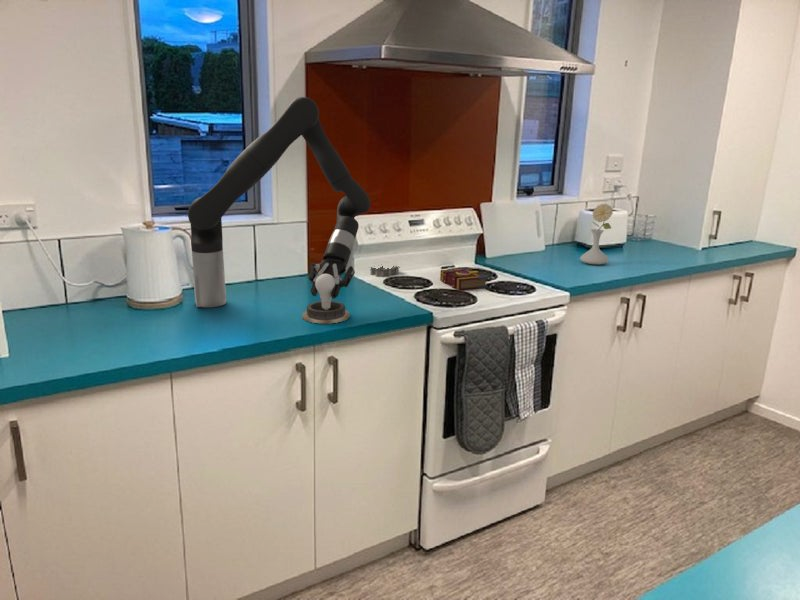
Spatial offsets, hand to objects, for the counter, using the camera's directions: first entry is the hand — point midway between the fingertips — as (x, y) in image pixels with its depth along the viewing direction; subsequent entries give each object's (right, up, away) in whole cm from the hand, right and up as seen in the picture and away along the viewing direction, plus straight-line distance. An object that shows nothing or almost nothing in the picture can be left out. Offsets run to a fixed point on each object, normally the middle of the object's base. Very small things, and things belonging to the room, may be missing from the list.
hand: (323, 296), depth 187 cm
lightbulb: (+1, -4, +3) cm, 5 cm away
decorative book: (+45, +4, +42) cm, 62 cm away
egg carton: (+17, +8, +55) cm, 58 cm away
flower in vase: (+103, +13, +76) cm, 128 cm away
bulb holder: (0, -6, +3) cm, 7 cm away
